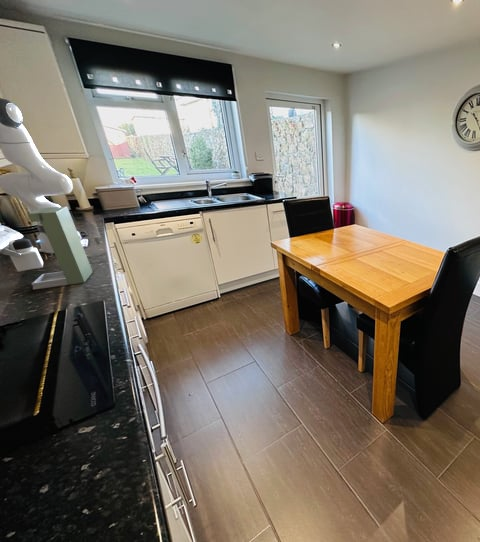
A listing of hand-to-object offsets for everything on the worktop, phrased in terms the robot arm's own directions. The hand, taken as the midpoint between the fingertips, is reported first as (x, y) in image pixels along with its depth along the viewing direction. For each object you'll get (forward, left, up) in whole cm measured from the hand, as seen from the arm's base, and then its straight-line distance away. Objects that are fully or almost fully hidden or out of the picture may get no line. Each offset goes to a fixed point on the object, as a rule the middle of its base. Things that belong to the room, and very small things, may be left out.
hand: (25, 252), depth 116 cm
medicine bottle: (0, -1, -7) cm, 7 cm away
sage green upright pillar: (+11, +12, -11) cm, 19 cm away
